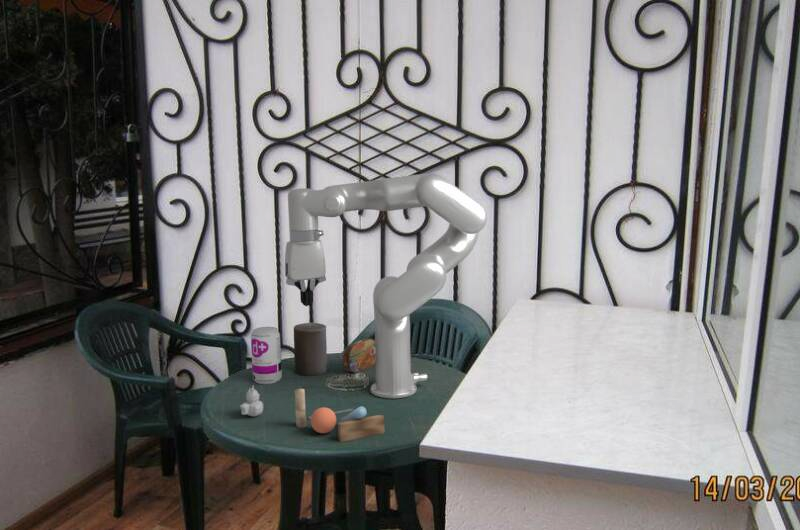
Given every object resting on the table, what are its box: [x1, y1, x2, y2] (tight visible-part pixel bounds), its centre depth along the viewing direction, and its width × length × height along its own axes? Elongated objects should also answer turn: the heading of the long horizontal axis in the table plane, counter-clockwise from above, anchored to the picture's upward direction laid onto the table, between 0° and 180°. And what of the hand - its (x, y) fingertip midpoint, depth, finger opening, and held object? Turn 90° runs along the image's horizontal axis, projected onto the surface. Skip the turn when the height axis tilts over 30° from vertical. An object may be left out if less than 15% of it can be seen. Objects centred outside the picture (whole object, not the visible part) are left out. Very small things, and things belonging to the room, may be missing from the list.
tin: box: [342, 338, 376, 374], centre depth 217 cm, size 15×3×8 cm, turn 147°
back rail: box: [337, 413, 386, 443], centre depth 167 cm, size 11×2×4 cm, turn 116°
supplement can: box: [250, 326, 283, 385], centre depth 207 cm, size 8×8×15 cm
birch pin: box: [294, 388, 307, 429], centre depth 174 cm, size 2×2×9 cm
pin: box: [339, 405, 368, 423], centre depth 170 cm, size 2×2×9 cm
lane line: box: [307, 408, 355, 420], centre depth 182 cm, size 12×1×1 cm, turn 116°
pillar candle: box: [293, 322, 328, 377], centre depth 215 cm, size 10×10×15 cm
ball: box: [310, 406, 337, 434], centre depth 170 cm, size 6×6×6 cm
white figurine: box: [239, 385, 264, 417], centre depth 181 cm, size 5×7×8 cm
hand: (307, 304), depth 191 cm, fingers closed
